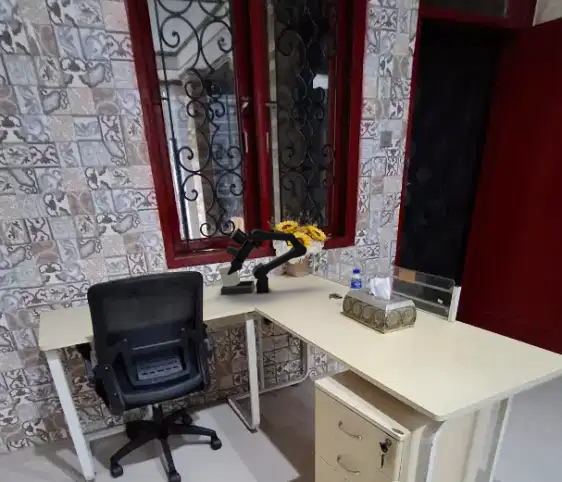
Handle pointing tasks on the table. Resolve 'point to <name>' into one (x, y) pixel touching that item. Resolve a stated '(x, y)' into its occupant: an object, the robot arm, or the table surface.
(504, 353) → the table surface
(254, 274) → the robot arm
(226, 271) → the small box
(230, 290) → the pan
